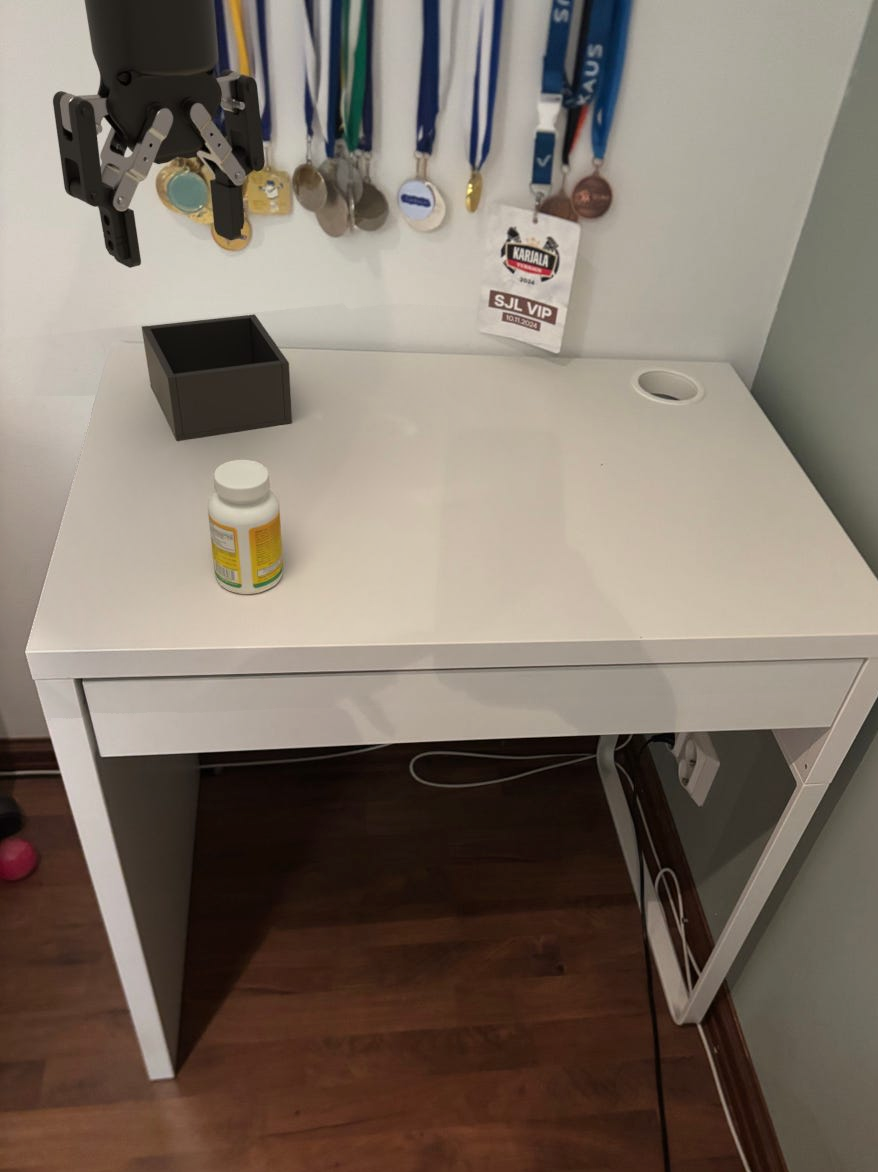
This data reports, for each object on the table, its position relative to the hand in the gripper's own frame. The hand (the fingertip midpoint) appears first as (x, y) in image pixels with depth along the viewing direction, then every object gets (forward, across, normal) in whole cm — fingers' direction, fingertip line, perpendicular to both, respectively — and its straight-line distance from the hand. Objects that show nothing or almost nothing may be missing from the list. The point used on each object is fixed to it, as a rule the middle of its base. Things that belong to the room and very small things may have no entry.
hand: (179, 249), depth 67 cm
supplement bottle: (+23, +3, +9) cm, 25 cm away
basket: (+23, -13, -15) cm, 30 cm away
